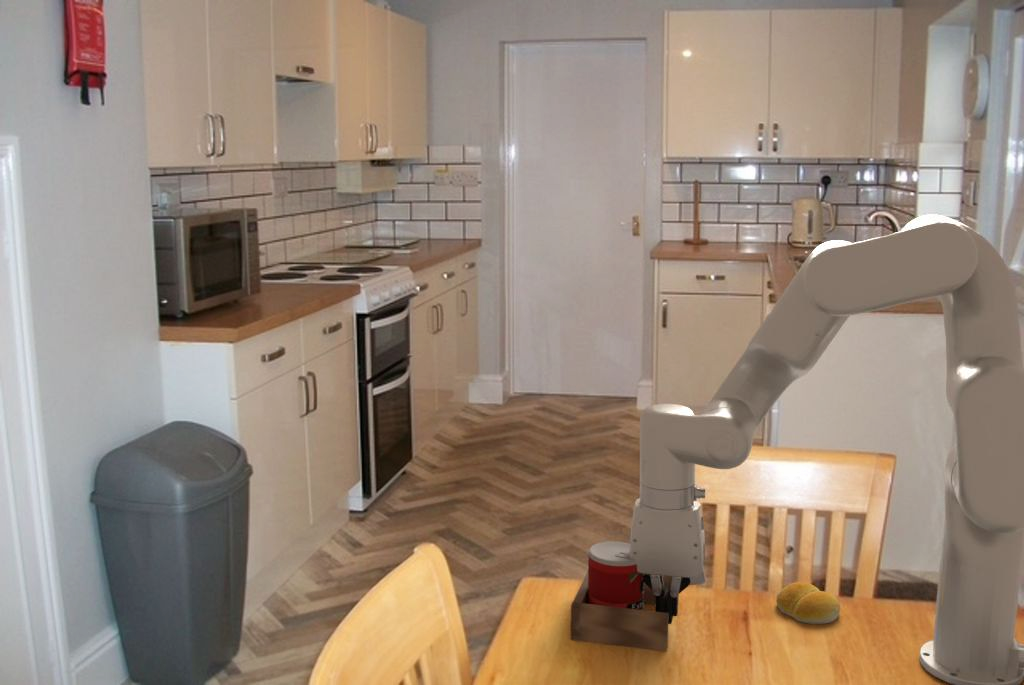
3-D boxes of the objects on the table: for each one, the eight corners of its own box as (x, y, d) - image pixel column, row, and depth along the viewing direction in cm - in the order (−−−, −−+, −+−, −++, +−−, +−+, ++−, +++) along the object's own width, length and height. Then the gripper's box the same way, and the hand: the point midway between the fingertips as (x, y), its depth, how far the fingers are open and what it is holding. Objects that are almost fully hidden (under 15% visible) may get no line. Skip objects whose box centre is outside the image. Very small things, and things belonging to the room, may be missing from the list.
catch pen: (678, 603, 157) (679, 572, 156) (666, 651, 143) (667, 616, 142) (590, 594, 161) (591, 563, 160) (570, 639, 146) (571, 605, 145)
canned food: (638, 639, 146) (640, 564, 144) (581, 631, 148) (582, 557, 146) (647, 616, 153) (649, 544, 151) (593, 609, 156) (595, 538, 153)
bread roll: (814, 631, 149) (816, 605, 148) (766, 608, 156) (768, 583, 156) (853, 617, 154) (854, 591, 153) (805, 595, 161) (806, 570, 160)
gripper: (724, 489, 147) (722, 613, 150) (617, 483, 150) (618, 603, 154) (720, 507, 140) (718, 636, 143) (608, 500, 143) (609, 626, 147)
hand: (666, 619), depth 148 cm, fingers closed
